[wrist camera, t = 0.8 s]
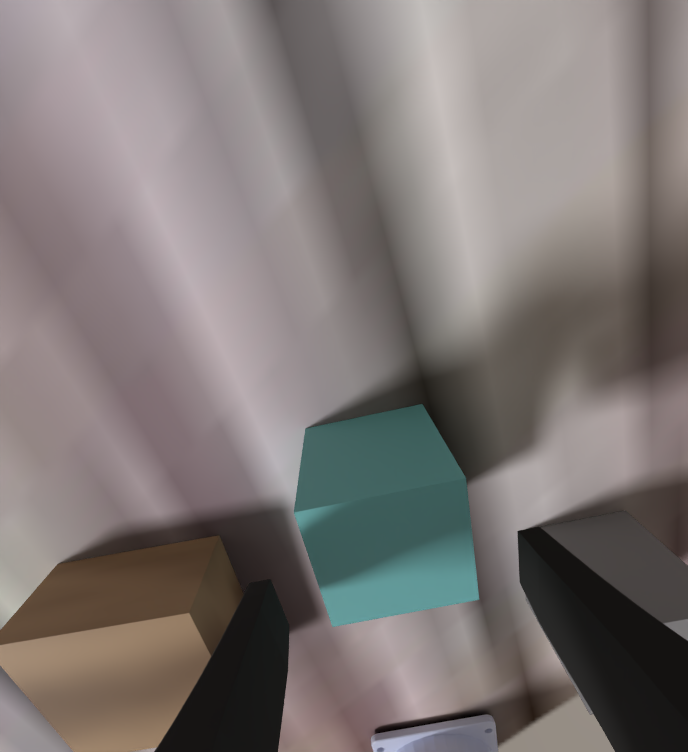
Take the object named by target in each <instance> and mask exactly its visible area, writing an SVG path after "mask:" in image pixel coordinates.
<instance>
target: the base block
mask: <svg viewBox="0 0 688 752" xmlns="http://www.w3.org/2000/svg"><path fill="white" fill-rule="evenodd" d="M243 595H244V594H243V591H242V589H241V587H240V584H239V582H238V579H237V577H236V574H235V572H234V570H233V567H232V565H231V562H230V560H229V557H228V555H227V553H226V550H225V548H224V545H223V543H222V540H221V538H220V536H219V535H218V536H212V537H206V538H201V539H195V540H190V541H184V542H178V543H173V544H167V545H161V546H156V547H150V548H145V549H139V550H133V551H128V552H122V553H116V554H111V555H105V556H100V557H94V558H88V559H83V560H77V561H71V562H66V563H60V564H57V565H56V567H55V568H54V569H53V570H52V571H51V572H50V574H49V575H48V576H47V577H46V578H45V579H44V580H43V582H42V583H41V584H40V585H39V586H38V587H37V589H36V590H35V591H34V592H33V593H32V594H31V596H30V597H29V598H28V599H27V600H26V601H25V602H24V604H23V605H22V606H21V607H20V608H19V609H18V611H17V612H16V613H15V614H14V615H13V616H12V617H11V619H10V620H9V621H8V622H7V623H6V624H5V626H4V627H3V628H2V629H1V630H0V666H1V667H2V668H3V669H4V670H5V671H6V673H7V674H8V675H9V676H10V677H11V678H12V680H13V681H14V682H15V683H16V684H17V686H18V687H19V688H20V689H21V690H22V691H23V693H24V694H25V695H26V696H27V697H28V698H29V700H30V701H31V702H32V703H33V704H34V706H35V707H36V708H37V709H38V710H39V711H40V713H41V714H42V715H43V716H44V717H45V718H46V720H47V721H48V722H49V723H50V724H51V725H52V727H53V728H54V729H55V730H56V731H57V733H58V734H59V735H60V736H61V737H62V738H63V740H64V741H65V742H66V743H67V744H68V745H69V747H70V748H71V749H72V750H73V751H74V752H130V751H136V750H142V749H149V748H155V747H158V745H159V744H160V742H161V741H162V739H163V737H164V736H165V734H166V733H167V731H168V729H169V728H170V726H171V725H172V723H173V721H174V720H175V718H176V716H177V715H178V713H179V711H180V710H181V708H182V706H183V705H184V703H185V701H186V700H187V698H188V696H189V695H190V693H191V691H192V689H193V688H194V686H195V684H196V683H197V681H198V679H199V677H200V676H201V674H202V672H203V670H204V669H205V667H206V665H207V663H208V661H209V659H210V658H211V656H212V654H213V652H214V650H215V648H216V647H217V645H218V643H219V641H220V639H221V637H222V635H223V634H224V632H225V630H226V628H227V626H228V624H229V622H230V620H231V618H232V616H233V614H234V612H235V610H236V608H237V606H238V604H239V603H240V601H241V599H242V597H243Z"/></svg>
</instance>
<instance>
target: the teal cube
mask: <svg viewBox="0 0 688 752" xmlns="http://www.w3.org/2000/svg"><path fill="white" fill-rule="evenodd" d="M294 514H295V517H296V520H297V523H298V526H299V529H300V532H301V535H302V538H303V541H304V544H305V547H306V550H307V553H308V556H309V559H310V562H311V565H312V568H313V571H314V574H315V576H316V579H317V582H318V585H319V588H320V591H321V594H322V597H323V600H324V603H325V606H326V609H327V612H328V615H329V618H330V621H331V624H332V627H335V626H340V625H346V624H351V623H356V622H362V621H367V620H372V619H378V618H383V617H388V616H394V615H399V614H405V613H410V612H415V611H421V610H426V609H431V608H437V607H442V606H448V605H453V604H458V603H464V602H469V601H474V600H479V594H478V585H477V576H476V566H475V557H474V548H473V538H472V529H471V520H470V511H469V501H468V492H467V483H466V477H465V476H464V474H463V472H462V470H461V469H460V467H459V465H458V464H457V462H456V460H455V459H454V457H453V455H452V453H451V452H450V450H449V448H448V447H447V445H446V443H445V442H444V440H443V438H442V437H441V435H440V433H439V431H438V430H437V428H436V426H435V425H434V423H433V421H432V420H431V418H430V416H429V414H428V413H427V411H426V409H425V408H424V406H423V404H419V405H414V406H410V407H405V408H400V409H395V410H391V411H386V412H381V413H377V414H372V415H367V416H362V417H358V418H353V419H348V420H343V421H339V422H334V423H329V424H325V425H320V426H315V427H310V428H306V429H305V436H304V443H303V450H302V457H301V465H300V472H299V479H298V486H297V494H296V501H295V508H294Z"/></svg>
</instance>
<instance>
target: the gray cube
mask: <svg viewBox="0 0 688 752" xmlns="http://www.w3.org/2000/svg"><path fill="white" fill-rule="evenodd" d="M540 528H542V529H543V530H545V531H546V532H547V533H548V534H549V535H551V536H552V537H553V538H554V539H555V540H557V541H558V542H559V543H560V544H561V545H563V546H564V547H565V548H566V549H567V550H569V551H570V552H571V553H572V554H573V555H575V556H576V557H577V558H578V559H580V560H581V561H582V562H583V563H584V564H586V565H587V566H588V567H589V568H591V569H592V570H593V571H594V572H596V573H597V574H598V575H599V576H601V577H602V578H603V579H604V580H606V581H607V582H608V583H610V584H611V585H612V586H614V587H615V588H616V589H618V590H619V591H620V592H621V593H623V594H624V595H625V596H627V597H628V598H629V599H631V600H632V601H633V602H635V603H636V604H637V605H639V606H640V607H641V608H643V609H644V610H645V611H647V612H648V613H649V614H651V615H652V616H654V617H655V618H656V619H658V620H659V621H661V622H662V623H663V624H665V625H666V626H668V627H669V628H670V629H672V630H673V631H675V632H676V633H677V634H679V635H680V636H682V637H683V638H684V639H686V640H687V641H688V566H687V565H686V564H685V563H684V562H683V561H682V560H681V559H679V558H678V557H677V556H676V555H675V554H674V553H673V552H672V551H670V550H669V549H668V548H667V547H666V546H665V545H664V544H663V543H661V542H660V541H659V540H658V539H657V538H656V537H655V536H654V535H652V534H651V533H650V532H649V531H648V530H647V529H646V528H645V527H643V526H642V525H641V524H640V523H639V522H638V521H637V520H636V519H634V518H633V517H632V516H631V515H630V514H629V513H628V512H627V511H620V512H615V513H610V514H605V515H600V516H595V517H589V518H584V519H579V520H574V521H569V522H564V523H559V524H553V525H548V526H543V527H540ZM526 601H527V603H528V604H529V606H530V608H531V610H532V612H533V613H534V611H533V609H532V607H531V605H530V603H529V601H528V598H527V596H526ZM534 615H535V613H534ZM535 617H536V615H535ZM536 619H537V617H536ZM537 621H538V619H537ZM538 622H539V621H538ZM539 624H540V623H539ZM540 626H541V625H540ZM541 628H542V627H541ZM542 630H543V628H542ZM543 631H544V630H543ZM544 633H545V632H544ZM545 635H546V633H545ZM546 637H547V635H546ZM547 639H548V637H547ZM548 640H549V639H548ZM549 642H550V640H549ZM550 644H551V642H550ZM551 646H552V648H553V649H554V647H553V645H552V644H551ZM554 651H555V653H556V655H557V656H558V658H559V660H560V662H561V664H562V665H563V667H564V669H565V671H566V673H567V674H568V676H569V678H570V680H571V682H572V683H573V685H574V687H575V689H576V691H577V692H578V694H579V696H580V698H581V700H582V701H583V703H584V705H585V707H586V709H587V710H588V712H589V714H590V715H591V714H593V712H592V711H591V709H590V707H589V705H588V704H587V702H586V700H585V699H584V697H583V695H582V694H581V692H580V690H579V689H578V687H577V685H576V684H575V682H574V680H573V679H572V677H571V675H570V674H569V672H568V670H567V669H566V667H565V665H564V664H563V662H562V660H561V659H560V657H559V655H558V654H557V652H556V650H555V649H554Z"/></svg>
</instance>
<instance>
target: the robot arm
mask: <svg viewBox="0 0 688 752" xmlns="http://www.w3.org/2000/svg"><path fill="white" fill-rule="evenodd" d="M518 550H519V575H520V583H521V586H522V588H523V590H524V592H525V594H526V596H527V598H528V601H529V603H530V605H531V607H532V609H533V611H534V613H535V615H536V617H537V619H538V621H539V623H540V625H541V627H542V628H543V630H544V632H545V633H546V635H547V637H548V639H549V640H550V642H551V644H552V645H553V647H554V649H555V650H556V652H557V654H558V655H559V657H560V659H561V660H562V662H563V664H564V665H565V667H566V669H567V670H568V672H569V674H570V675H571V677H572V679H573V680H574V682H575V684H576V685H577V687H578V689H579V690H580V692H581V694H582V695H583V697H584V699H585V700H586V702H587V704H588V705H589V707H590V709H591V711H592V712H593V714H594V715H595V717H596V719H597V721H598V722H599V724H600V726H601V727H602V729H603V731H604V732H605V734H606V736H607V738H608V740H609V741H610V743H611V745H612V747H613V749H614V750H615V752H688V641H687V640H686V639H684V638H683V637H682V636H680V635H679V634H677V633H676V632H675V631H673V630H672V629H670V628H669V627H668V626H666V625H665V624H663V623H662V622H661V621H659V620H658V619H656V618H655V617H654V616H652V615H651V614H649V613H648V612H647V611H645V610H644V609H643V608H641V607H640V606H639V605H637V604H636V603H635V602H633V601H632V600H631V599H629V598H628V597H627V596H625V595H624V594H623V593H621V592H620V591H619V590H618V589H616V588H615V587H614V586H612V585H611V584H610V583H608V582H607V581H606V580H604V579H603V578H602V577H601V576H599V575H598V574H597V573H596V572H594V571H593V570H592V569H591V568H589V567H588V566H587V565H586V564H584V563H583V562H582V561H581V560H580V559H578V558H577V557H576V556H575V555H573V554H572V553H571V552H570V551H569V550H567V549H566V548H565V547H564V546H563V545H561V544H560V543H559V542H558V541H557V540H555V539H554V538H553V537H552V536H551V535H549V534H548V533H547V532H546V531H545V530H543V529H542V528H540V527H536V528H531V529H525V530H520V531H518ZM288 655H289V624H288V621H287V619H286V616H285V614H284V611H283V609H282V606H281V604H280V602H279V599H278V597H277V594H276V592H275V589H274V587H273V584H272V582H271V580H270V579H268V580H263V581H258V582H253V583H250V584H249V585H248V587H247V589H246V591H245V593H244V595H243V597H242V599H241V601H240V603H239V604H238V606H237V608H236V610H235V612H234V614H233V616H232V618H231V620H230V622H229V624H228V626H227V628H226V630H225V632H224V634H223V635H222V637H221V639H220V641H219V643H218V645H217V647H216V648H215V650H214V652H213V654H212V656H211V658H210V659H209V661H208V663H207V665H206V667H205V669H204V670H203V672H202V674H201V676H200V677H199V679H198V681H197V683H196V684H195V686H194V688H193V689H192V691H191V693H190V695H189V696H188V698H187V700H186V701H185V703H184V705H183V706H182V708H181V710H180V711H179V713H178V715H177V716H176V718H175V720H174V721H173V723H172V725H171V726H170V728H169V729H168V731H167V733H166V734H165V736H164V737H163V739H162V741H161V742H160V744H159V745H158V747H157V748H156V750H155V752H278V746H279V738H280V730H281V722H282V714H283V706H284V698H285V690H286V682H287V673H288ZM371 744H372V748H373V751H374V752H498V744H497V734H496V724H495V721H494V719H493V717H492V716H491V715H488V714H487V715H480V716H474V717H468V718H463V719H457V720H451V721H445V722H440V723H434V724H428V725H423V726H417V727H411V728H405V729H400V730H394V731H388V732H383V733H377V734H374V735H373V736H372V737H371Z"/></svg>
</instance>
